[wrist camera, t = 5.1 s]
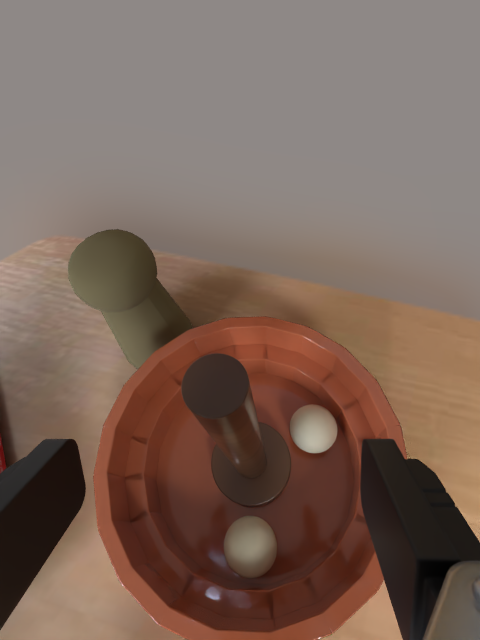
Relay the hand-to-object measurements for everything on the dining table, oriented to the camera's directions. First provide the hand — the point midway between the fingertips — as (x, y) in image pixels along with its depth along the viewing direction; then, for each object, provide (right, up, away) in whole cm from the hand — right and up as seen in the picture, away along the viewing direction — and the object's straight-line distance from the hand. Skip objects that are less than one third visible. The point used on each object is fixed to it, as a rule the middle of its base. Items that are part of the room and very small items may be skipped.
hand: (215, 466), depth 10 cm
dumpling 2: (+6, -4, +15) cm, 16 cm away
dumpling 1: (+1, -9, +12) cm, 15 cm away
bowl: (+2, -6, +15) cm, 16 cm away
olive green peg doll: (-6, +2, +20) cm, 22 cm away
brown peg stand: (+2, -6, +14) cm, 15 cm away
